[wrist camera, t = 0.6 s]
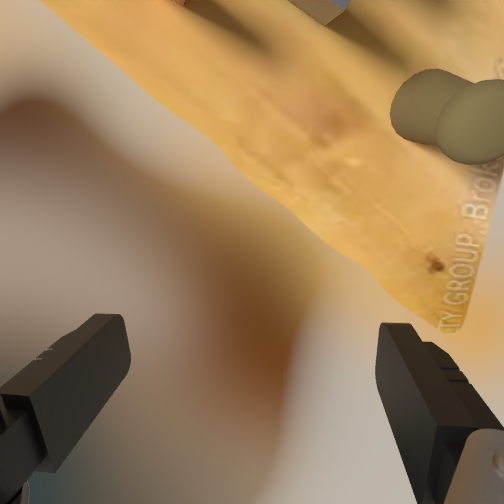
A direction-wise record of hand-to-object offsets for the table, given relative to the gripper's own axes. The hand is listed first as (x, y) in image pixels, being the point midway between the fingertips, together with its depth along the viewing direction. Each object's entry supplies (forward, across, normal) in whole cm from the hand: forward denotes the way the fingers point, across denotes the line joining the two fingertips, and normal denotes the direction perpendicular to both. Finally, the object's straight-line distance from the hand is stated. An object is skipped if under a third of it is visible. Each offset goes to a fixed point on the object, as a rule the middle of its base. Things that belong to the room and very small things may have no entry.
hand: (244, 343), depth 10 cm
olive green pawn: (+25, -13, -9) cm, 30 cm away
